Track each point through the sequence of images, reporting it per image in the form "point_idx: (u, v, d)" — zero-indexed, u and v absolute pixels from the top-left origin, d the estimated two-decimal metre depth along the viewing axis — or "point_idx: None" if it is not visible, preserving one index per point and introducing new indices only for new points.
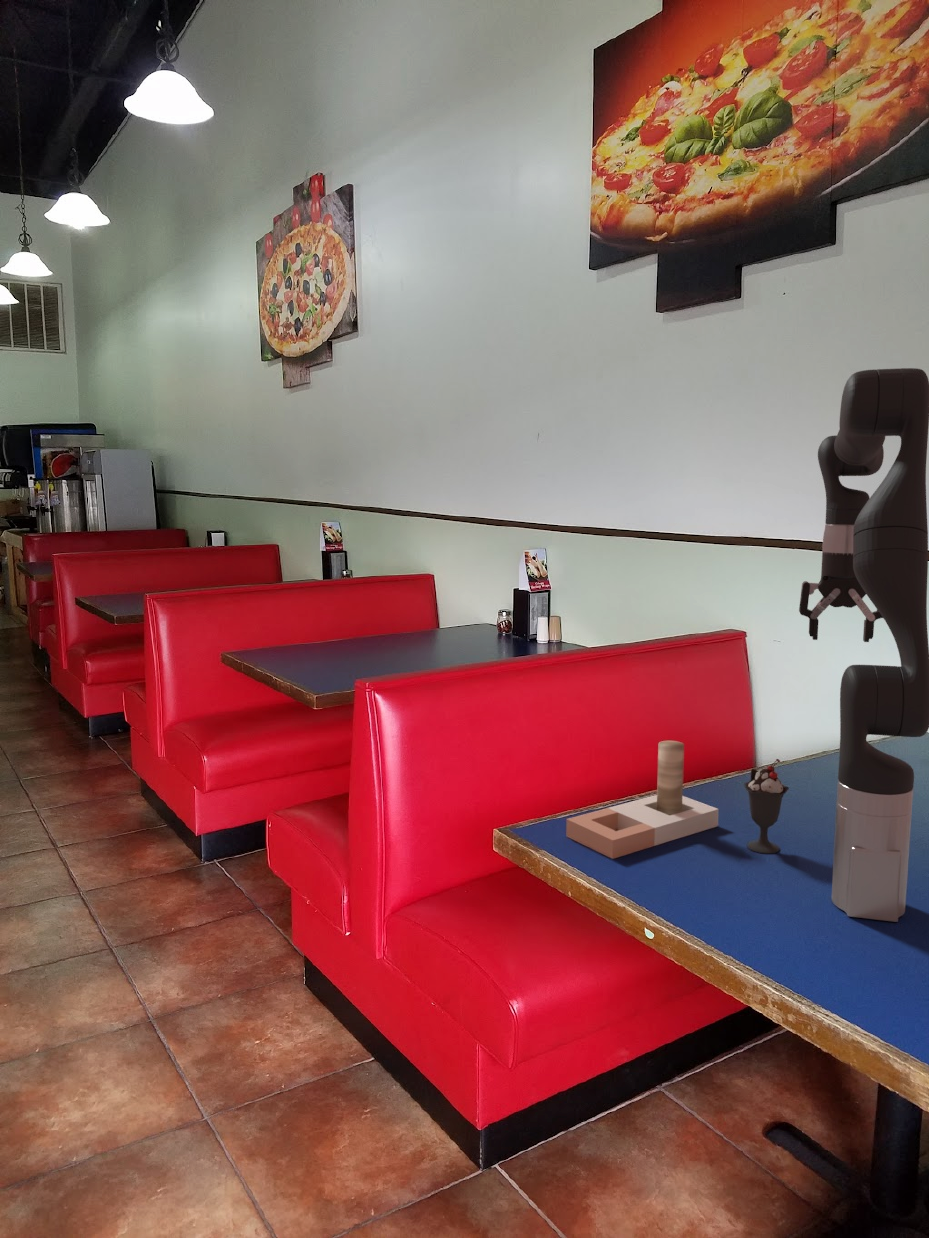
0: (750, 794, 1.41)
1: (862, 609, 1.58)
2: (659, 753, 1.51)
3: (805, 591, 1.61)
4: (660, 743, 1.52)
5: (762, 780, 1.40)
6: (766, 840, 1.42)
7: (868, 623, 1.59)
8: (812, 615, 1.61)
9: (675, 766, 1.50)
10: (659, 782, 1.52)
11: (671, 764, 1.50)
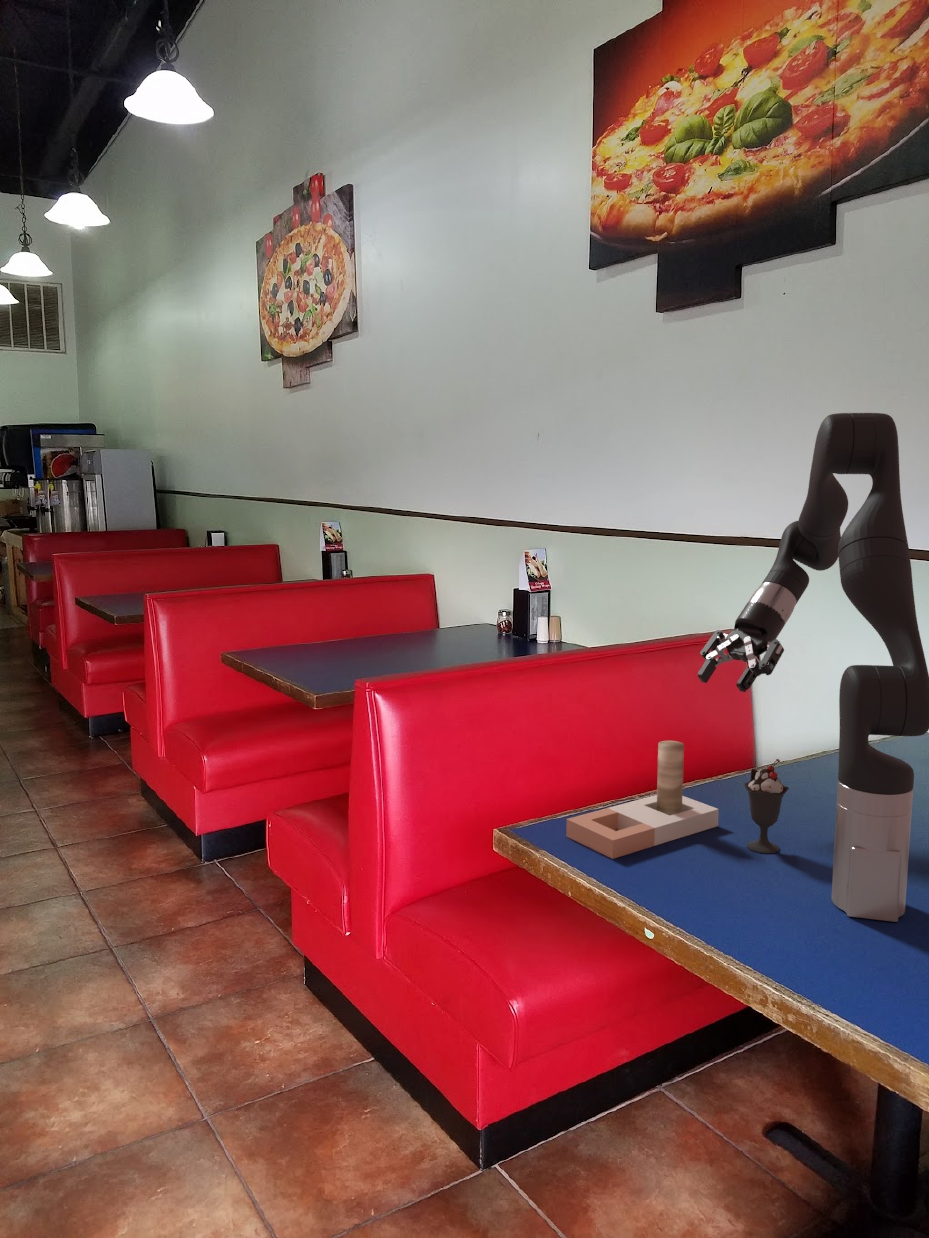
0: (750, 794, 1.41)
1: (747, 655, 1.55)
2: (659, 753, 1.51)
3: (714, 636, 1.64)
4: (660, 743, 1.52)
5: (762, 780, 1.40)
6: (766, 840, 1.42)
7: (747, 669, 1.54)
8: (708, 655, 1.61)
9: (675, 766, 1.50)
10: (659, 782, 1.52)
11: (671, 764, 1.50)
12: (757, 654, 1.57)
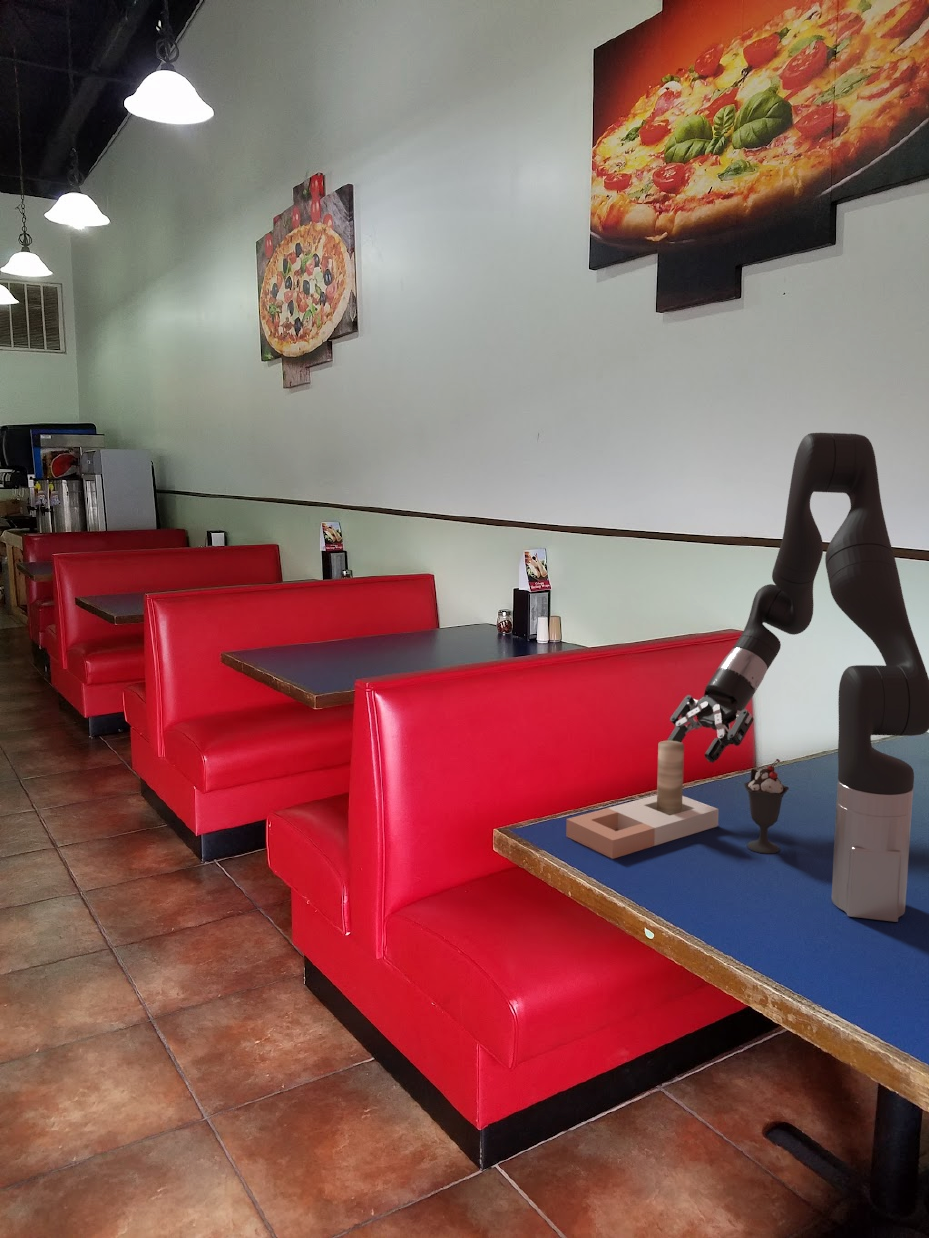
0: (750, 794, 1.41)
1: (716, 724, 1.53)
2: (659, 753, 1.51)
3: (684, 701, 1.61)
4: (660, 743, 1.52)
5: (762, 780, 1.40)
6: (766, 840, 1.42)
7: (716, 739, 1.51)
8: (677, 722, 1.59)
9: (675, 766, 1.50)
10: (659, 782, 1.52)
11: (671, 764, 1.50)
12: (726, 723, 1.54)
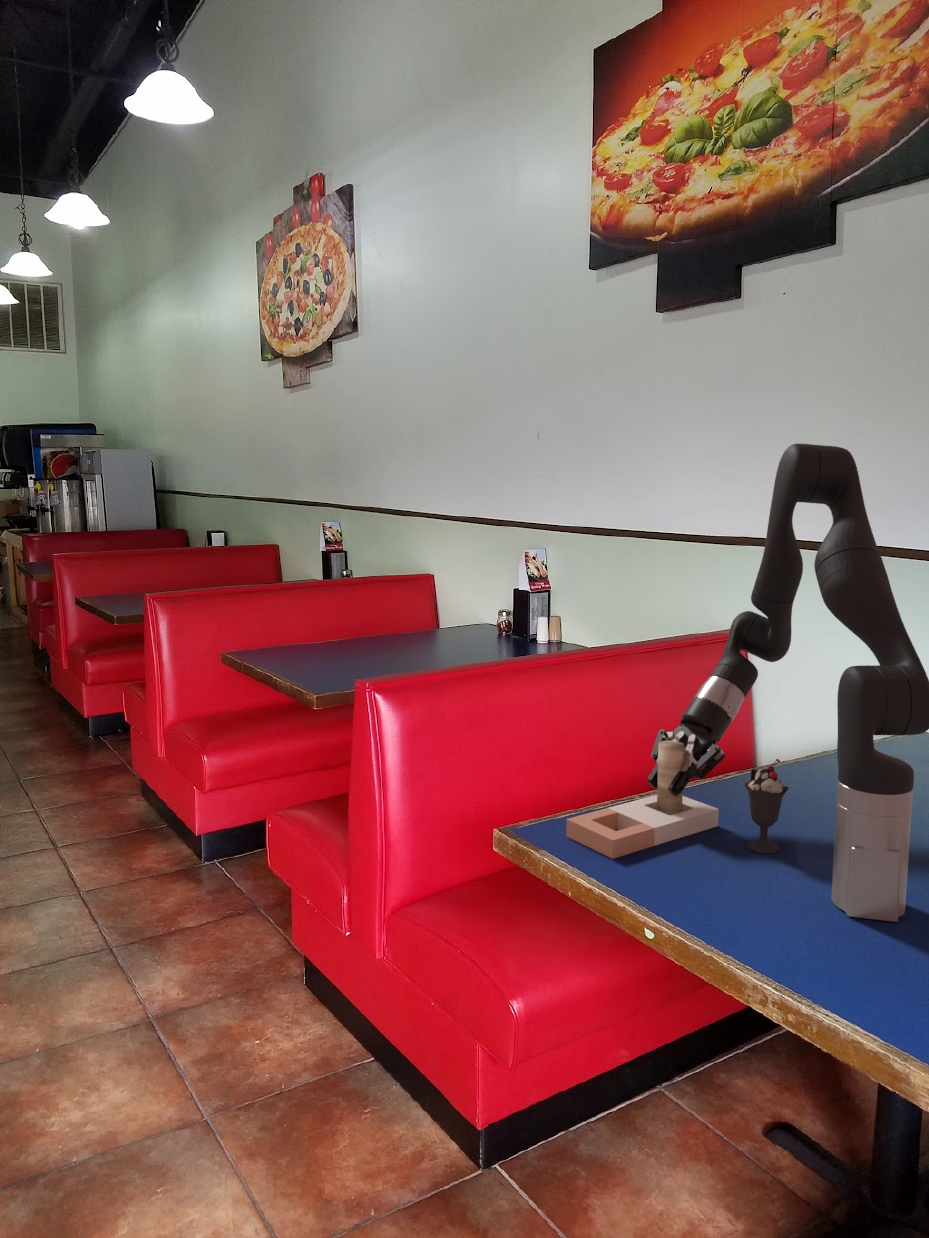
0: (750, 794, 1.41)
1: (685, 755, 1.51)
2: (659, 753, 1.51)
3: (659, 736, 1.58)
4: (660, 743, 1.52)
5: (762, 780, 1.40)
6: (766, 840, 1.42)
7: (679, 772, 1.50)
8: None
9: (675, 766, 1.50)
10: (659, 782, 1.52)
11: (671, 764, 1.50)
12: None
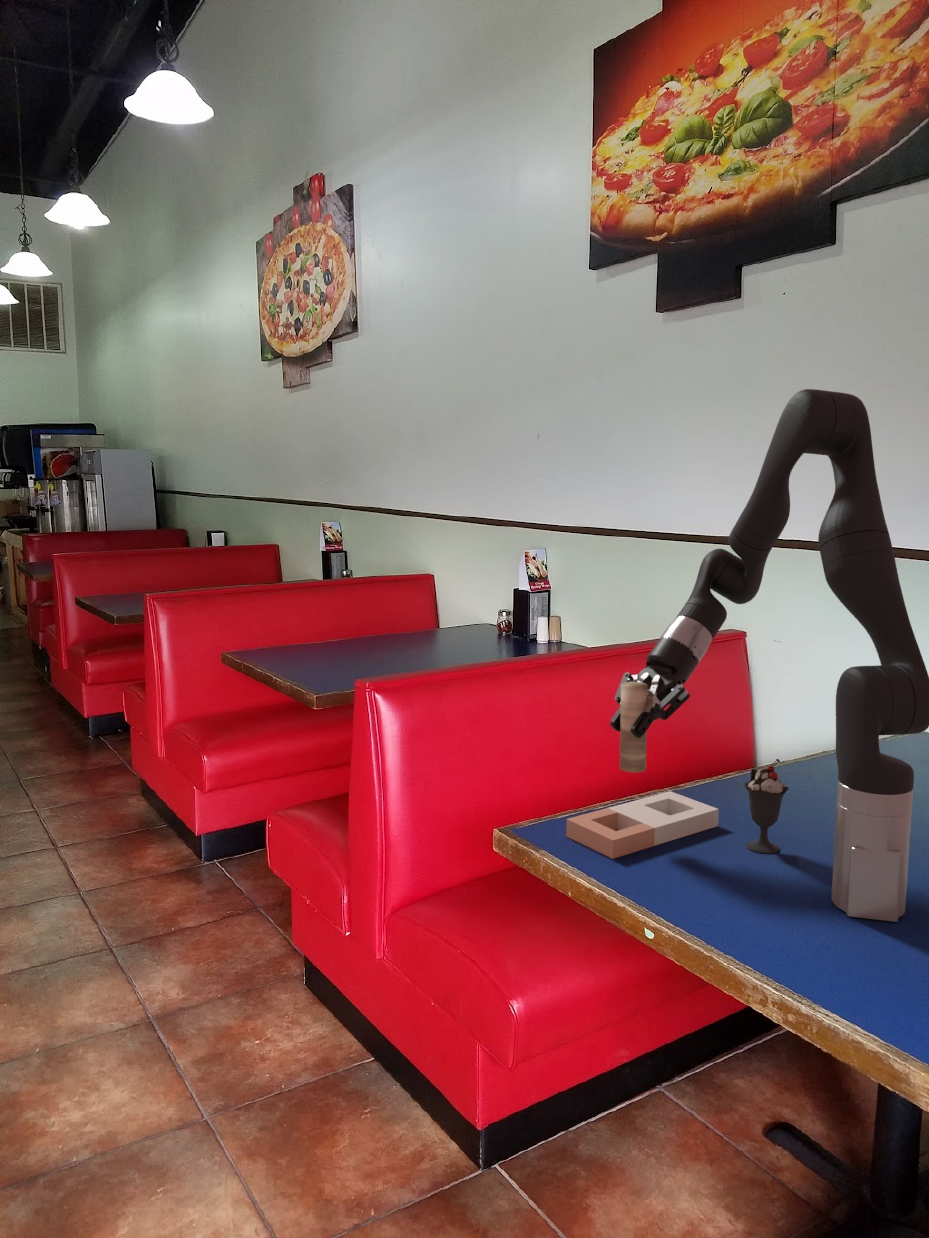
0: (750, 794, 1.41)
1: (648, 696, 1.45)
2: (621, 694, 1.45)
3: (624, 679, 1.52)
4: (623, 684, 1.46)
5: (762, 780, 1.40)
6: (766, 840, 1.42)
7: (642, 714, 1.44)
8: None
9: (638, 707, 1.44)
10: (622, 724, 1.45)
11: (634, 704, 1.44)
12: None
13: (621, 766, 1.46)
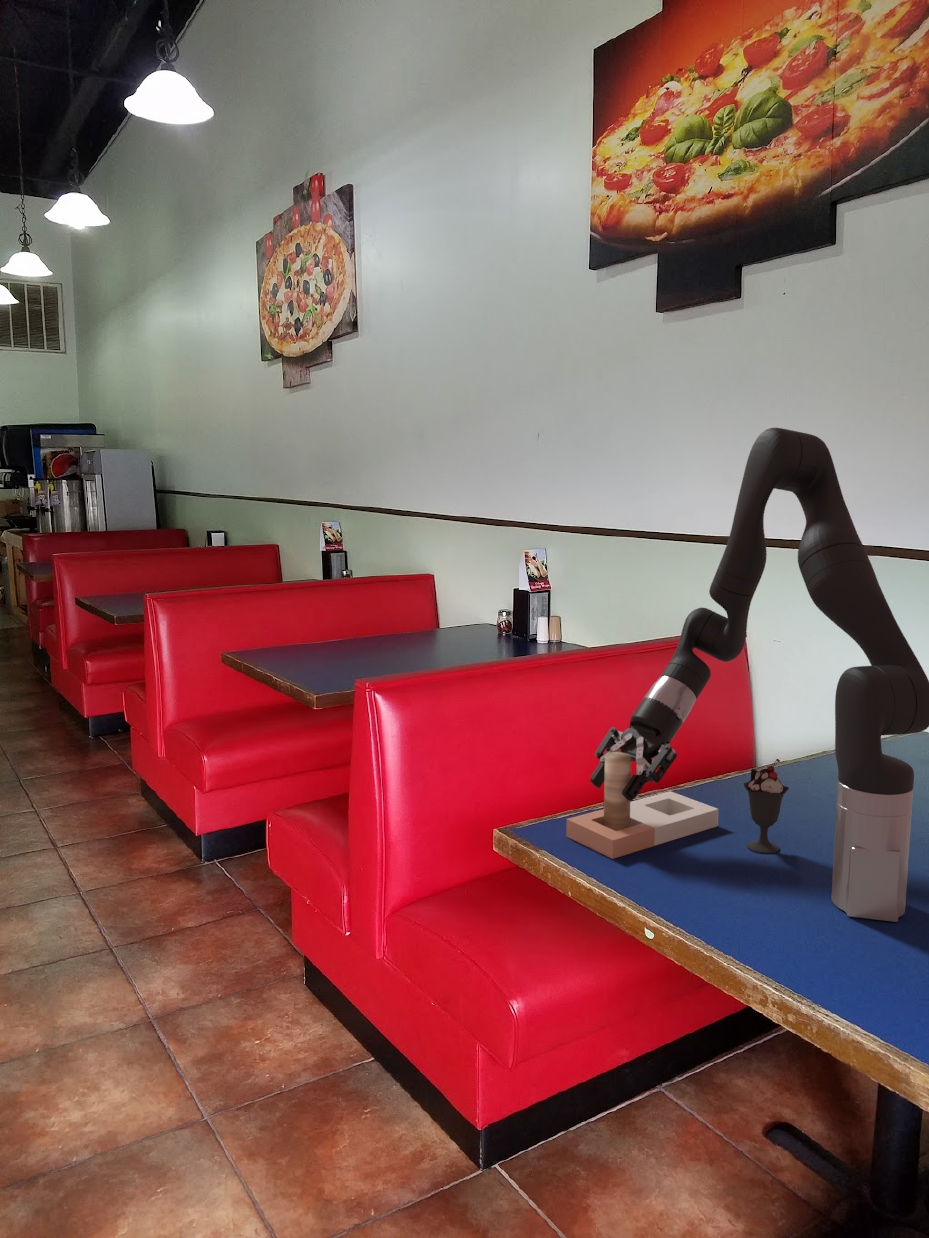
0: (750, 794, 1.41)
1: (637, 759, 1.44)
2: (605, 765, 1.45)
3: (608, 734, 1.52)
4: (607, 755, 1.45)
5: (762, 780, 1.40)
6: (766, 840, 1.42)
7: (634, 776, 1.42)
8: (602, 757, 1.49)
9: (622, 779, 1.43)
10: (606, 795, 1.45)
11: (617, 777, 1.43)
12: (649, 757, 1.45)
13: None
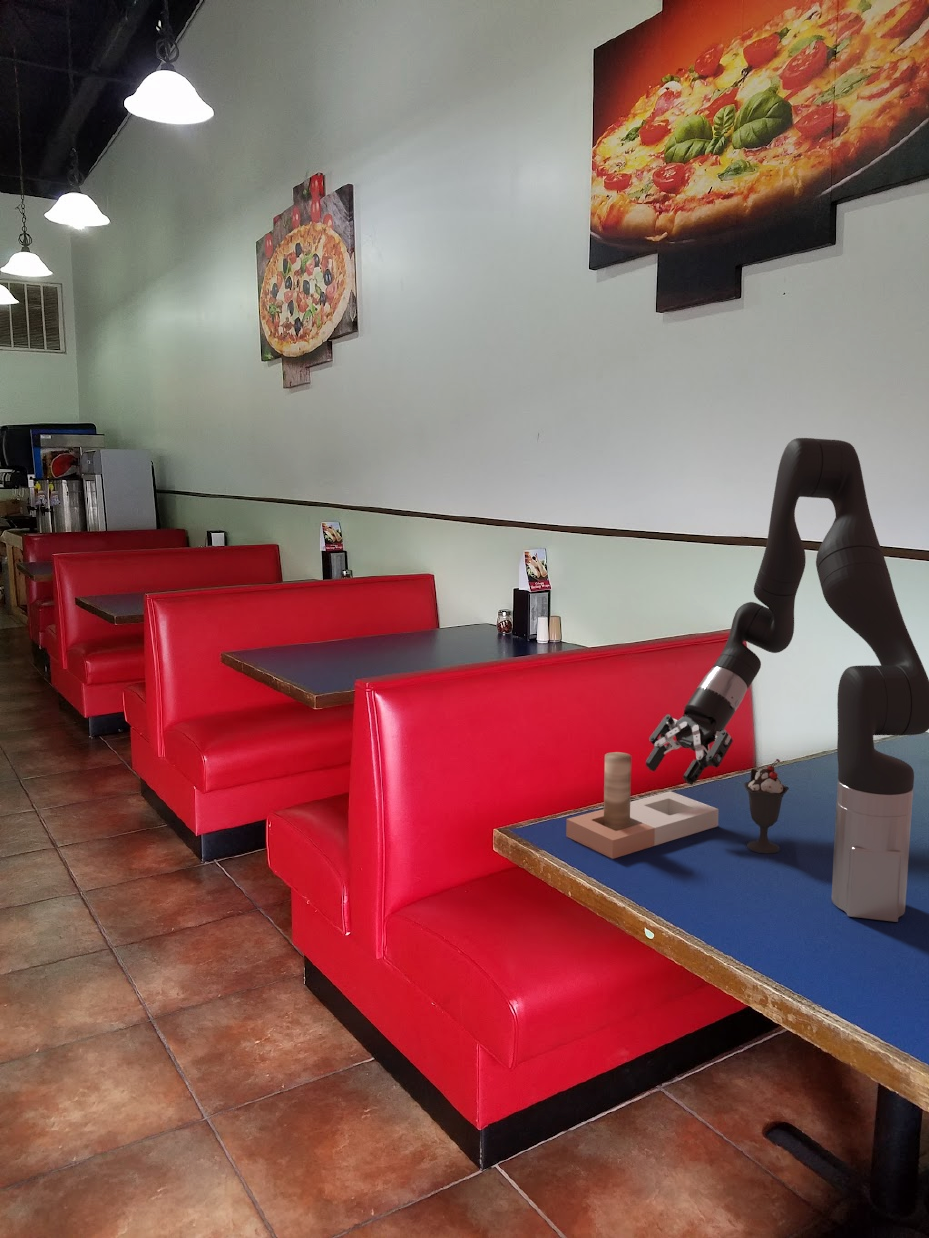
0: (750, 794, 1.41)
1: (695, 745, 1.50)
2: (605, 765, 1.45)
3: (663, 721, 1.59)
4: (607, 755, 1.45)
5: (762, 780, 1.40)
6: (766, 840, 1.42)
7: (694, 761, 1.49)
8: (656, 742, 1.57)
9: (622, 779, 1.43)
10: (606, 795, 1.45)
11: (617, 777, 1.43)
12: (705, 744, 1.52)
13: None
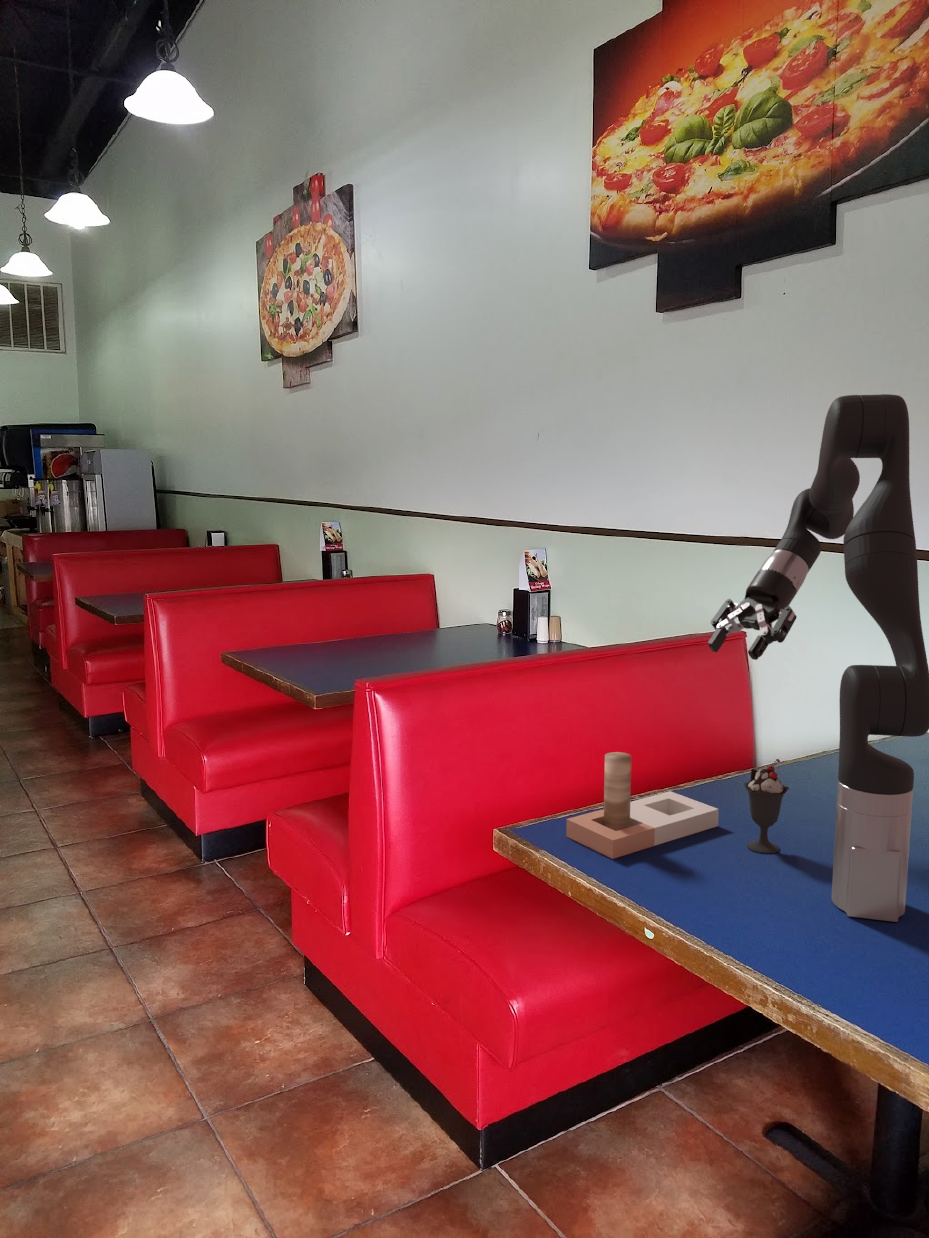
0: (750, 794, 1.41)
1: (759, 622, 1.52)
2: (605, 765, 1.45)
3: (724, 605, 1.61)
4: (607, 755, 1.45)
5: (762, 780, 1.40)
6: (766, 840, 1.42)
7: (759, 637, 1.51)
8: (718, 624, 1.59)
9: (622, 779, 1.43)
10: (606, 795, 1.45)
11: (617, 777, 1.43)
12: (769, 622, 1.54)
13: None
